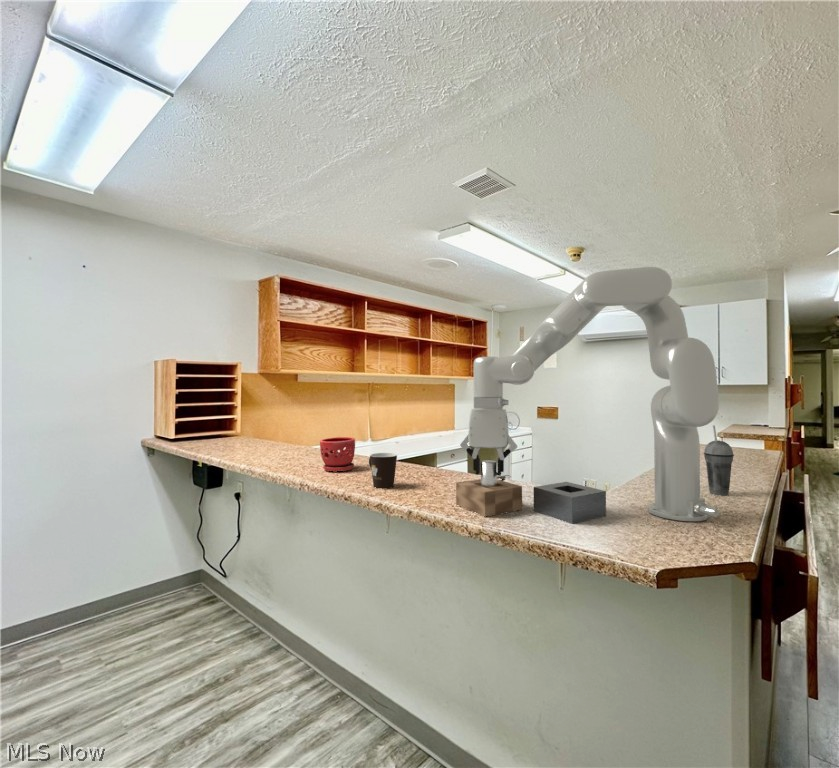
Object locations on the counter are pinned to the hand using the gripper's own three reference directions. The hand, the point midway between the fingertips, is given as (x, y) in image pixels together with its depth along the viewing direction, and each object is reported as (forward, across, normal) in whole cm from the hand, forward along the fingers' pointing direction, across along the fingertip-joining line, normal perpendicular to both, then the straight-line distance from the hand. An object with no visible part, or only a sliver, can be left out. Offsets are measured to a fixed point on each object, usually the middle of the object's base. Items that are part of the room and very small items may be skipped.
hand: (488, 473), depth 110 cm
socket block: (+9, -20, 0) cm, 22 cm away
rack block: (+9, 0, 0) cm, 9 cm away
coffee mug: (+9, +35, -17) cm, 40 cm away
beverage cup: (+9, -64, -31) cm, 71 cm away
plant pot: (+9, +61, -37) cm, 72 cm away
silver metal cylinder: (+9, 0, 0) cm, 9 cm away
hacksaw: (+10, 0, -31) cm, 33 cm away
